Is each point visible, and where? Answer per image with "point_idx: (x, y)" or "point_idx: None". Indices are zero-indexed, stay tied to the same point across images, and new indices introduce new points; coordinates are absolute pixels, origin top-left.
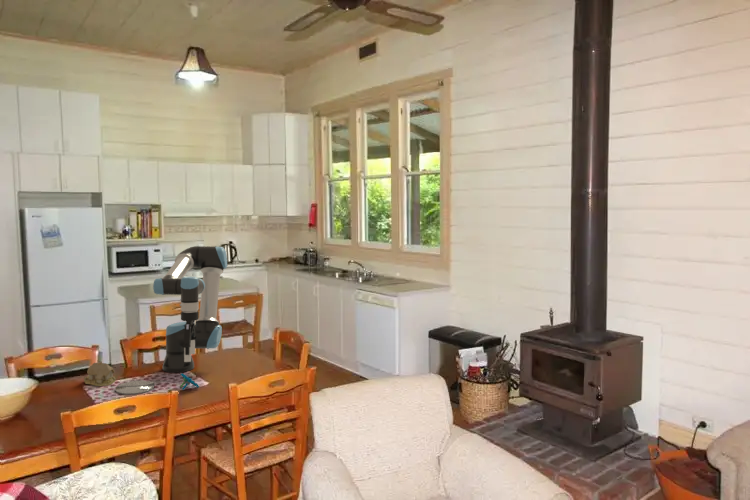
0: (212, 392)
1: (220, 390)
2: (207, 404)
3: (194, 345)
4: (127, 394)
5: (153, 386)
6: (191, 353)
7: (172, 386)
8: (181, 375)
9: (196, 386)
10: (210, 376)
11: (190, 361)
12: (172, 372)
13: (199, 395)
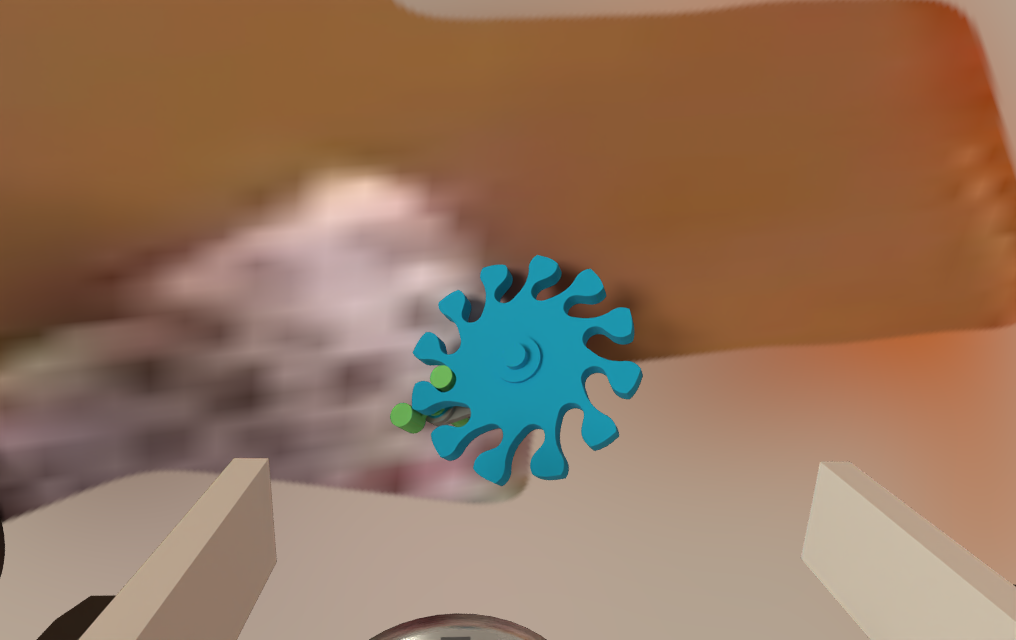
0: (670, 116)
1: (626, 34)
2: (980, 143)
3: (174, 595)
4: None
5: (464, 626)
6: (269, 523)
7: (431, 488)
8: (507, 470)
9: (511, 284)
10: (119, 170)
11: (854, 466)
12: (3, 554)
13: (726, 234)
